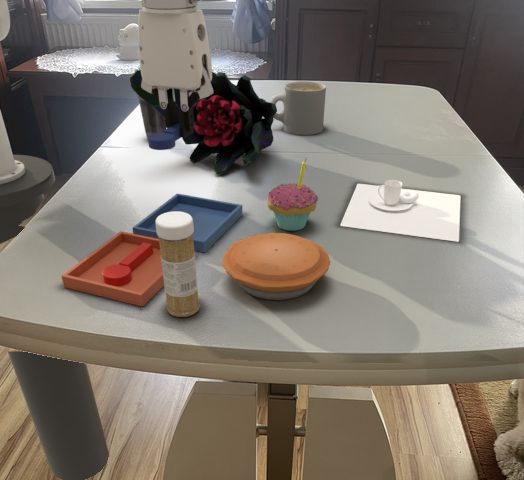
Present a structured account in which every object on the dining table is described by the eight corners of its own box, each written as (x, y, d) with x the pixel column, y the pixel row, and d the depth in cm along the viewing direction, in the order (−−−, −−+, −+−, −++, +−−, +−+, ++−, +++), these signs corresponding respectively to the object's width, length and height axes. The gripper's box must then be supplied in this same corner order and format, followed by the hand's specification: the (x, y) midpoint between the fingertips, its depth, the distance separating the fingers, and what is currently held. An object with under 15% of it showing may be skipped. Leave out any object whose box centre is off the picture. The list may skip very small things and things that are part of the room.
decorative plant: (270, 195, 128) (205, 209, 103) (187, 132, 132) (104, 131, 106) (317, 112, 118) (258, 106, 92) (225, 47, 121) (144, 23, 96)
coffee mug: (322, 123, 141) (325, 81, 135) (323, 135, 134) (326, 91, 127) (271, 121, 142) (271, 80, 136) (268, 134, 134) (269, 90, 128)
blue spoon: (178, 127, 90) (177, 117, 89) (200, 130, 89) (199, 120, 88) (143, 148, 82) (142, 137, 81) (167, 151, 81) (166, 140, 80)
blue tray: (133, 238, 91) (132, 227, 90) (177, 203, 102) (177, 193, 101) (204, 252, 87) (204, 242, 86) (242, 214, 98) (242, 204, 97)
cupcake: (320, 218, 97) (325, 150, 90) (308, 239, 91) (313, 168, 84) (274, 212, 100) (275, 145, 92) (259, 232, 93) (260, 162, 86)
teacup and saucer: (418, 198, 104) (422, 178, 102) (414, 216, 98) (419, 194, 96) (372, 193, 106) (374, 172, 104) (366, 210, 100) (368, 188, 98)
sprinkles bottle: (194, 297, 77) (187, 207, 69) (204, 314, 74) (197, 222, 66) (162, 303, 76) (151, 213, 68) (170, 321, 73) (159, 228, 64)
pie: (320, 253, 87) (323, 224, 84) (335, 308, 75) (338, 277, 72) (224, 255, 87) (222, 226, 84) (222, 310, 75) (221, 279, 72)
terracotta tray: (64, 287, 79) (61, 275, 78) (122, 241, 90) (120, 231, 89) (142, 306, 75) (141, 295, 74) (194, 256, 86) (193, 245, 85)
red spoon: (138, 249, 87) (136, 240, 86) (160, 254, 86) (159, 245, 85) (98, 283, 79) (96, 273, 78) (122, 288, 78) (120, 279, 77)
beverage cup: (177, 136, 133) (169, 42, 120) (164, 145, 127) (154, 49, 115) (149, 133, 134) (139, 40, 122) (135, 142, 129) (123, 46, 116)
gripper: (231, -2, 76) (235, 133, 88) (134, -8, 81) (150, 122, 92) (207, 4, 71) (214, 148, 82) (105, -2, 75) (125, 135, 87)
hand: (180, 133), depth 87 cm, fingers closed on blue spoon, 1 cm apart
